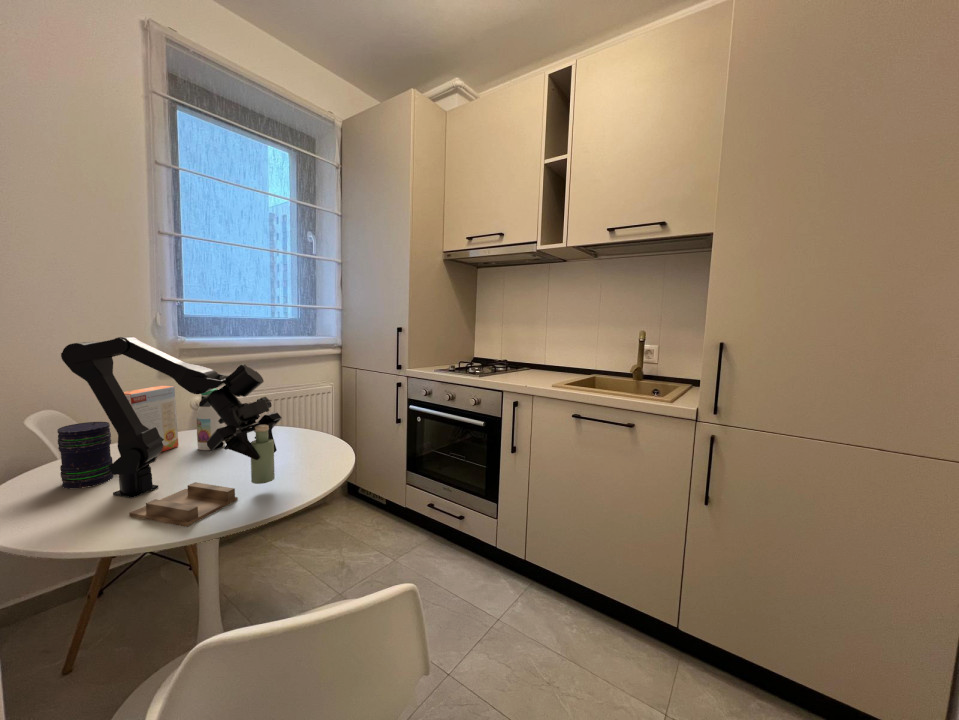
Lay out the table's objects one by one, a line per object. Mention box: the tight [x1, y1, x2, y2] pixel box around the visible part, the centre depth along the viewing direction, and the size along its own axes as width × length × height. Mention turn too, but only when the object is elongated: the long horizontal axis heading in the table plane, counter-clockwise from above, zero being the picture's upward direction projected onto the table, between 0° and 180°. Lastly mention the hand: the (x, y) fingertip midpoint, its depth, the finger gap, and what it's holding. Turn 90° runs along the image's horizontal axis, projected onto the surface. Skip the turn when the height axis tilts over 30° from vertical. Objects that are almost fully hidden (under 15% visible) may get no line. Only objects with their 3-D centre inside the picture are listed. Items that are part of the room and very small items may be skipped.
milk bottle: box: [196, 388, 226, 451], centre depth 131 cm, size 8×8×20 cm
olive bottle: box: [250, 425, 276, 485], centre depth 99 cm, size 5×5×14 cm
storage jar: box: [57, 421, 114, 489], centre depth 103 cm, size 10×10×15 cm
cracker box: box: [123, 385, 179, 453], centre depth 125 cm, size 14×6×21 cm, turn 169°
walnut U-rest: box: [129, 482, 238, 528], centre depth 91 cm, size 16×13×3 cm
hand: (267, 455), depth 99 cm, fingers closed on olive bottle, 5 cm apart
